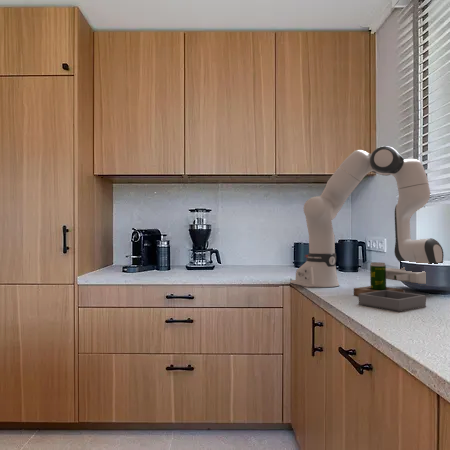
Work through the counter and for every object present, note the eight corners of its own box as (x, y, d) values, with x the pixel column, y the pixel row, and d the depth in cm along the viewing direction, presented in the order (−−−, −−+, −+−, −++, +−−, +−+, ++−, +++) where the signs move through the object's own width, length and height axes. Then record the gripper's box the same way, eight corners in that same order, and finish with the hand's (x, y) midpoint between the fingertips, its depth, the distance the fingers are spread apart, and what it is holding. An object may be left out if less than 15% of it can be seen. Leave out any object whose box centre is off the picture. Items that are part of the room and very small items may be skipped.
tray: (358, 304, 120) (358, 293, 120) (385, 300, 127) (385, 289, 128) (399, 312, 108) (398, 300, 108) (425, 306, 116) (425, 295, 116)
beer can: (381, 294, 140) (381, 262, 140) (389, 296, 134) (388, 263, 134) (367, 294, 139) (367, 262, 139) (375, 297, 134) (374, 263, 134)
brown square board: (353, 295, 138) (353, 288, 139) (374, 292, 145) (374, 285, 145) (383, 299, 128) (382, 292, 128) (403, 296, 135) (403, 289, 135)
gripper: (391, 264, 153) (364, 265, 148) (436, 268, 134) (407, 270, 129) (391, 279, 153) (365, 281, 148) (436, 285, 134) (408, 288, 129)
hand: (385, 276), depth 138 cm, fingers open, 8 cm apart
